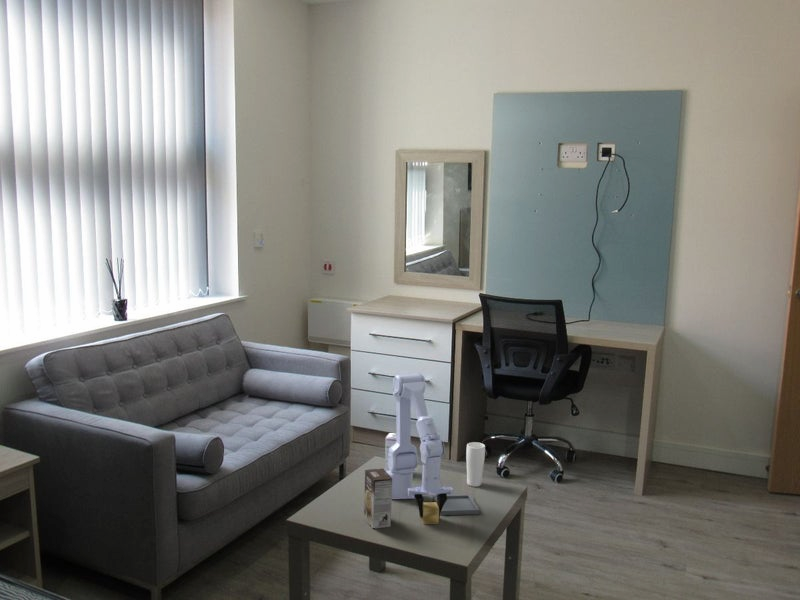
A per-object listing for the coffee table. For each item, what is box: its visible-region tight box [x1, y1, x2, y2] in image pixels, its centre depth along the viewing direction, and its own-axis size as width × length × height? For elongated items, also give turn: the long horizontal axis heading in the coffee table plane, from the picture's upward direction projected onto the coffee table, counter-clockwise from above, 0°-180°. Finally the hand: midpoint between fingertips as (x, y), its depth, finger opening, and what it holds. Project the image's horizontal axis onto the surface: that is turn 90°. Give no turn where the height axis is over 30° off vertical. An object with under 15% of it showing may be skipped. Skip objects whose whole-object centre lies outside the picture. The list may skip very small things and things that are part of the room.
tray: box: [433, 493, 481, 516], centre depth 242 cm, size 13×13×2 cm
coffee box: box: [363, 468, 393, 529], centre depth 228 cm, size 9×6×16 cm
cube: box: [420, 501, 440, 525], centre depth 231 cm, size 5×5×5 cm
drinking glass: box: [465, 441, 486, 488], centre depth 261 cm, size 7×7×15 cm
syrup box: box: [384, 432, 397, 471], centre depth 271 cm, size 6×6×14 cm
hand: (429, 516), depth 231 cm, fingers closed on cube, 5 cm apart
